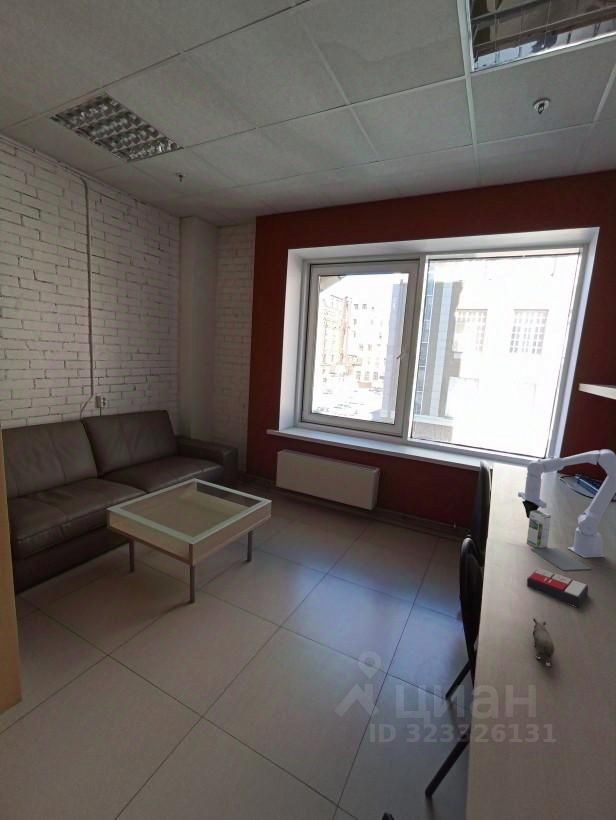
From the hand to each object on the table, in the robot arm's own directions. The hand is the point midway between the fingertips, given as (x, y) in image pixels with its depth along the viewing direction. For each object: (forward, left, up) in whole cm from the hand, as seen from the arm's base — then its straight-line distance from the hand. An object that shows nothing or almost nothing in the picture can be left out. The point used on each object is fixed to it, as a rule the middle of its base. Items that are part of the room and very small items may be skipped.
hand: (529, 517), depth 161 cm
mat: (0, +18, -10) cm, 20 cm away
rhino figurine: (+45, +60, -10) cm, 75 cm away
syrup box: (0, +6, -10) cm, 12 cm away
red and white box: (+19, +36, -10) cm, 42 cm away
